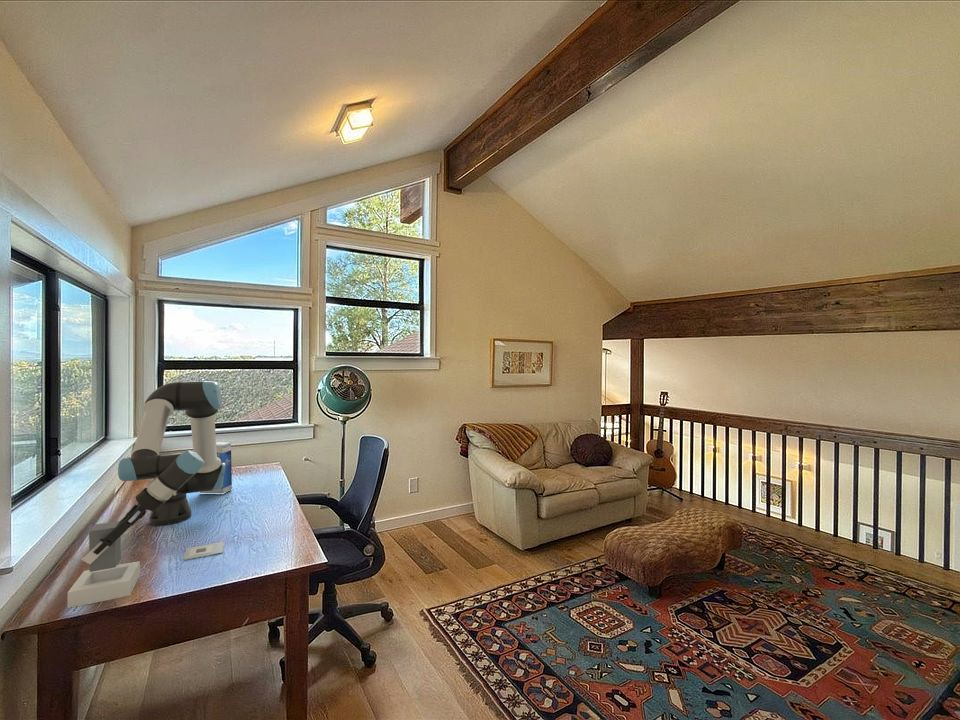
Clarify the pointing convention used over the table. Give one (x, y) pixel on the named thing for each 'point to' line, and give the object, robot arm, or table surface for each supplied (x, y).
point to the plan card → (203, 550)
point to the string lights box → (225, 457)
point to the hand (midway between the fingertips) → (90, 556)
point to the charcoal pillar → (111, 553)
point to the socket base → (104, 584)
